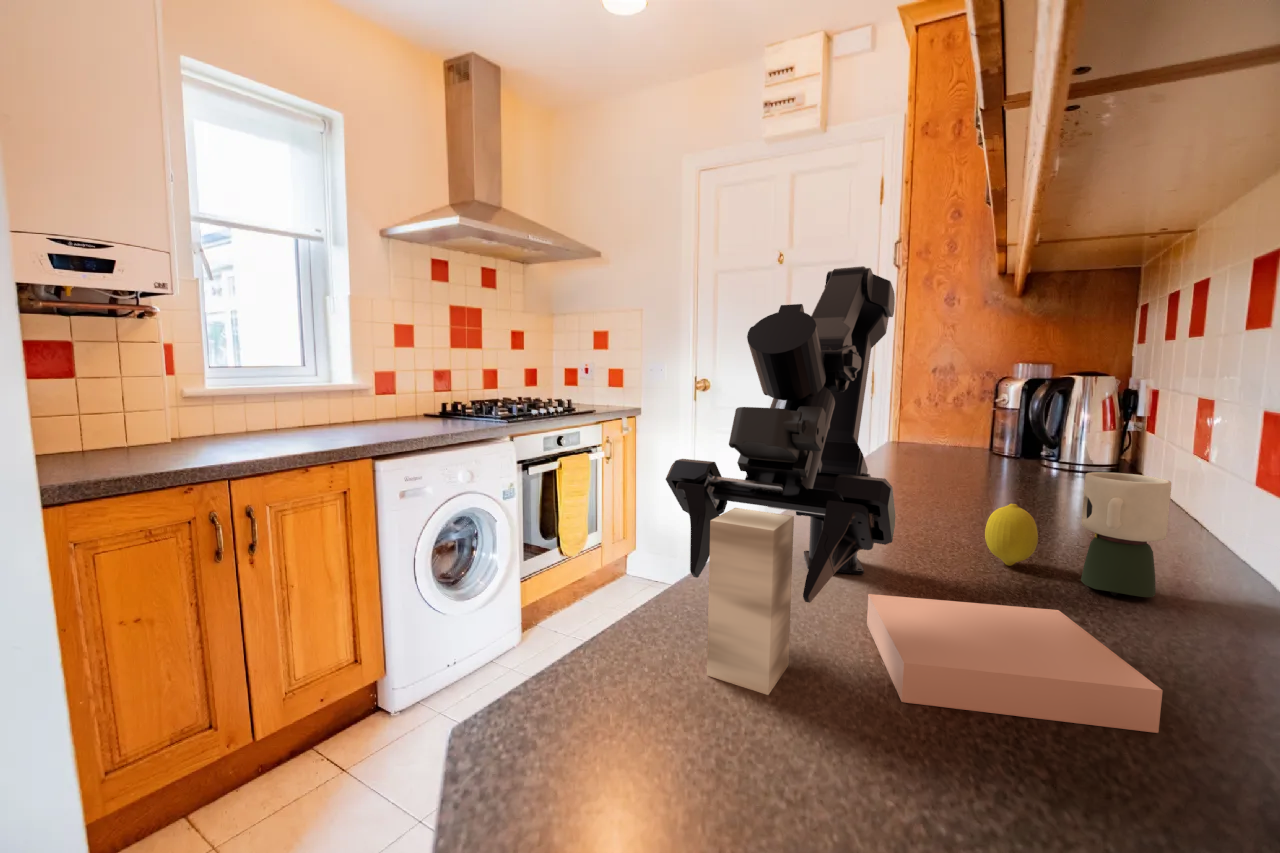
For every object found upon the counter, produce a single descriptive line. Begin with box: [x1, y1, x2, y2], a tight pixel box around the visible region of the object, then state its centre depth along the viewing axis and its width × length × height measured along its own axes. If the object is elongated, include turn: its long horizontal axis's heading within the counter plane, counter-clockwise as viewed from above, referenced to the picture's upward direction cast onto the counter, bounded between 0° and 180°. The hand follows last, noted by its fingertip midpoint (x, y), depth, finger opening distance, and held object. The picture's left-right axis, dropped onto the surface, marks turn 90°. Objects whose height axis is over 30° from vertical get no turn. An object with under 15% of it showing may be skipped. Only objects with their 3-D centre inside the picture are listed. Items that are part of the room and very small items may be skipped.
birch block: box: [706, 507, 795, 696], centre depth 44 cm, size 5×5×12 cm
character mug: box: [1080, 471, 1172, 598], centre depth 61 cm, size 11×7×13 cm, turn 129°
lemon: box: [984, 503, 1039, 567], centre depth 70 cm, size 6×6×8 cm
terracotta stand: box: [866, 593, 1164, 734], centre depth 45 cm, size 13×16×3 cm
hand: (746, 586), depth 43 cm, fingers open, 9 cm apart
